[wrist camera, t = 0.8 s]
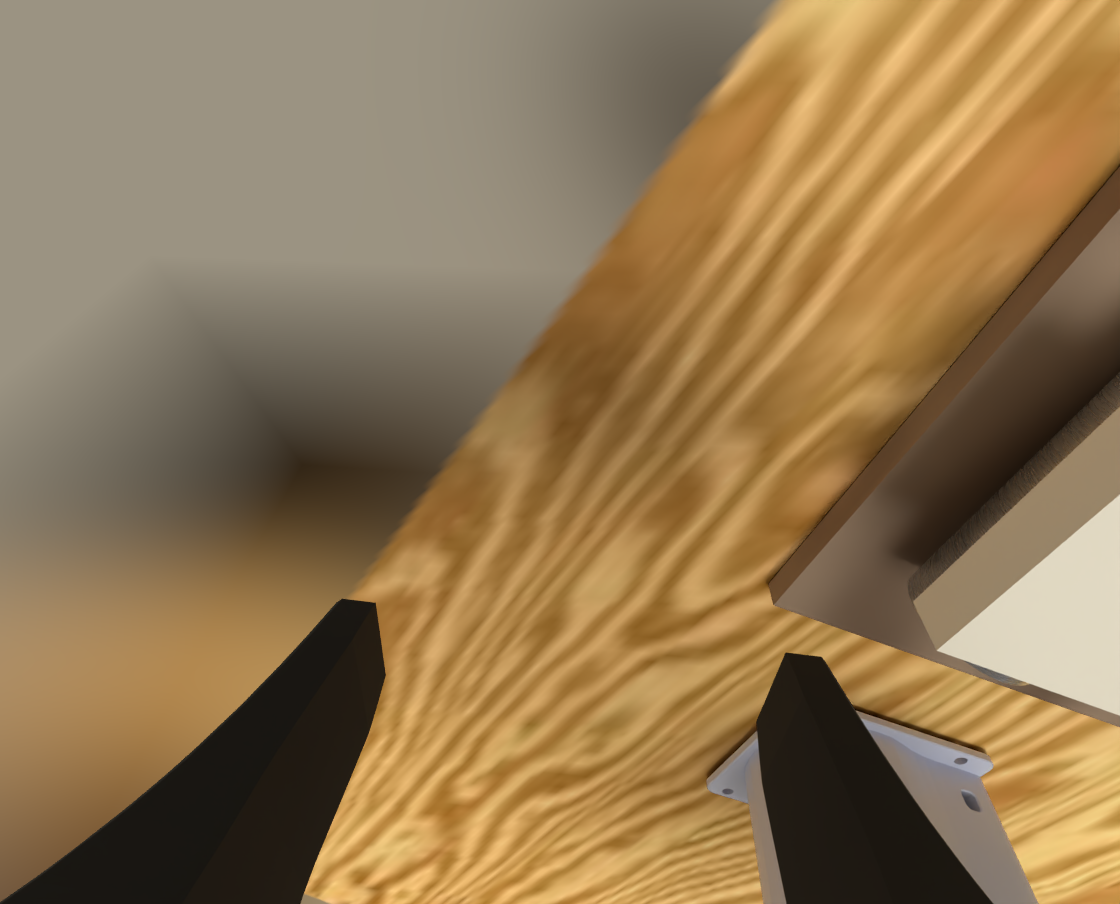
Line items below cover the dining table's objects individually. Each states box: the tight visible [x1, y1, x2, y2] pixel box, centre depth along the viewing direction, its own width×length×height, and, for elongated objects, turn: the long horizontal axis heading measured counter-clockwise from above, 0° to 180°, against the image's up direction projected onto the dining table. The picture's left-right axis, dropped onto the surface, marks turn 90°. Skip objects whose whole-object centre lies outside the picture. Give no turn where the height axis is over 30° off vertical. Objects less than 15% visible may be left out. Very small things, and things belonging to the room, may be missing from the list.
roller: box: [907, 372, 1120, 686], centre depth 16 cm, size 4×10×4 cm, turn 159°
